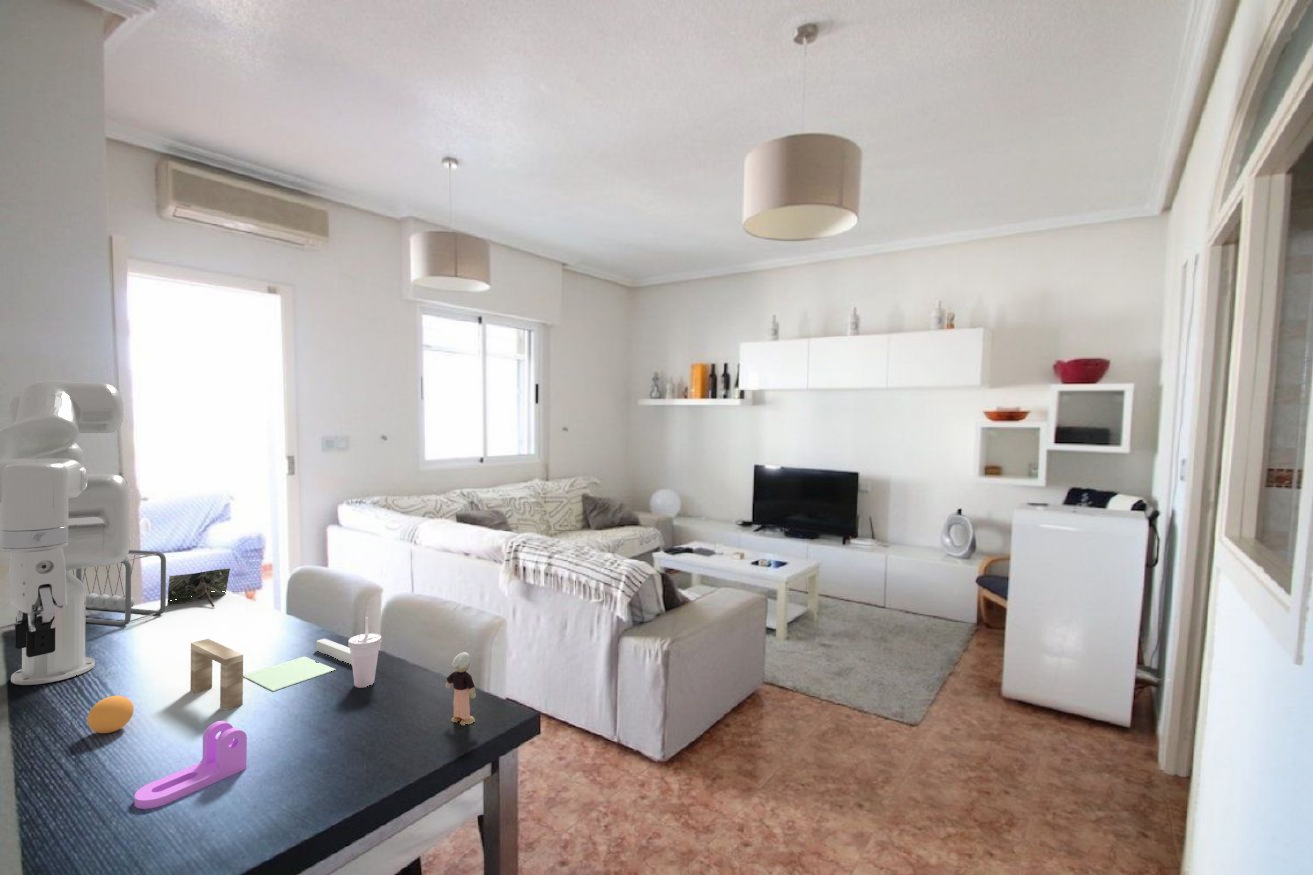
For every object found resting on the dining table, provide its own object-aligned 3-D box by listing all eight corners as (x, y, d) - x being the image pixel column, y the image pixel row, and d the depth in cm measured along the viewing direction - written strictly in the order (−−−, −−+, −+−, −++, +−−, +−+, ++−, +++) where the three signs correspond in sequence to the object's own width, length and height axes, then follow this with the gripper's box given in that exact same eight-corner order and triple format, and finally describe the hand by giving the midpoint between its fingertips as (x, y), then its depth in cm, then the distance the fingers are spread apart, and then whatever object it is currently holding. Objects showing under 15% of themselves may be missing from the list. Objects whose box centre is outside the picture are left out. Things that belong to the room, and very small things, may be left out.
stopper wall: (316, 651, 143) (316, 640, 143) (324, 648, 144) (324, 638, 144) (354, 666, 134) (355, 655, 134) (363, 663, 136) (363, 652, 136)
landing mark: (242, 676, 128) (242, 675, 128) (304, 657, 139) (304, 656, 139) (273, 691, 121) (273, 690, 121) (335, 670, 132) (335, 669, 132)
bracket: (228, 759, 97) (229, 716, 97) (246, 769, 94) (246, 726, 94) (127, 801, 86) (128, 753, 86) (144, 814, 83) (144, 765, 83)
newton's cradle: (35, 618, 161) (36, 553, 161) (79, 606, 172) (79, 545, 171) (127, 626, 156) (127, 559, 156) (166, 614, 167) (167, 551, 166)
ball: (82, 733, 103) (82, 699, 103) (126, 719, 109) (126, 686, 108) (94, 743, 100) (94, 708, 100) (139, 728, 105) (139, 695, 105)
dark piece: (165, 605, 175) (179, 631, 168) (169, 575, 172) (184, 601, 165) (225, 593, 187) (240, 617, 180) (229, 566, 185) (245, 589, 178)
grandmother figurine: (484, 718, 112) (485, 652, 112) (471, 728, 108) (473, 659, 108) (450, 711, 114) (451, 646, 114) (437, 720, 111) (438, 653, 111)
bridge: (224, 710, 113) (225, 659, 113) (190, 690, 121) (190, 642, 121) (242, 704, 115) (243, 654, 115) (207, 685, 123) (208, 638, 123)
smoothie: (387, 678, 129) (388, 614, 128) (369, 691, 122) (370, 623, 122) (359, 676, 129) (360, 612, 129) (340, 689, 123) (341, 622, 123)
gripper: (85, 541, 94) (84, 654, 95) (51, 529, 103) (50, 633, 104) (17, 549, 88) (16, 670, 88) (-13, 535, 97) (-14, 645, 97)
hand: (35, 649), depth 96 cm, fingers open, 5 cm apart
